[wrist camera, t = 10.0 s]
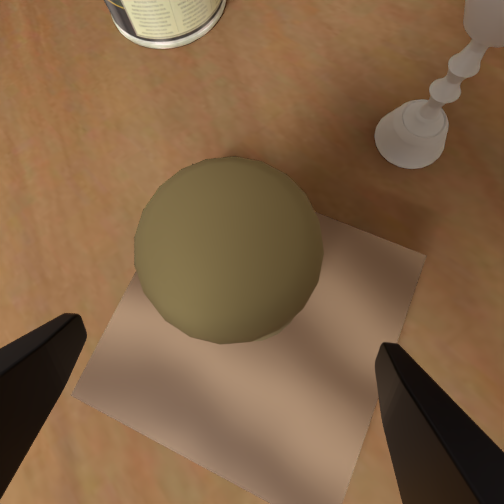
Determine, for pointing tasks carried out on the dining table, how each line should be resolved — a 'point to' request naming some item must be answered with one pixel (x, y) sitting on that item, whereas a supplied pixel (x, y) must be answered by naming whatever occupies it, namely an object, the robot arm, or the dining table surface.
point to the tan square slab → (265, 376)
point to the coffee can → (165, 20)
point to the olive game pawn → (229, 250)
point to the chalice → (440, 94)
